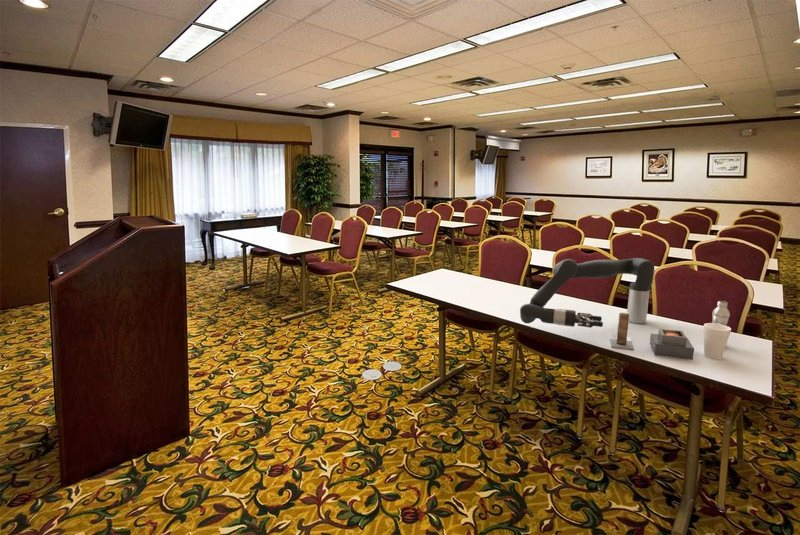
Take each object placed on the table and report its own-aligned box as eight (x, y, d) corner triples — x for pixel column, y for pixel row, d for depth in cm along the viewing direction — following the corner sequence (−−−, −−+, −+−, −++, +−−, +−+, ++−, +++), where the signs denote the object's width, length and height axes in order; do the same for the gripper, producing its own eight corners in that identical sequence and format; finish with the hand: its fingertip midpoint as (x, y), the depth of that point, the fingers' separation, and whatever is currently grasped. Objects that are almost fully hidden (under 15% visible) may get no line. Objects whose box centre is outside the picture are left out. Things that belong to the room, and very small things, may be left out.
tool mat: (610, 339, 208) (610, 338, 207) (631, 342, 204) (631, 341, 204) (611, 347, 198) (611, 346, 198) (634, 350, 195) (634, 348, 195)
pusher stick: (616, 341, 204) (619, 312, 201) (625, 342, 202) (628, 313, 200) (616, 344, 200) (619, 314, 197) (626, 345, 199) (629, 315, 196)
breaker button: (664, 337, 196) (664, 331, 195) (677, 338, 194) (677, 333, 193) (666, 341, 191) (666, 335, 191) (679, 342, 189) (680, 337, 189)
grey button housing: (649, 343, 203) (651, 326, 201) (685, 347, 198) (687, 329, 196) (654, 355, 190) (656, 336, 188) (692, 359, 185) (695, 340, 183)
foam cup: (701, 349, 195) (705, 321, 193) (727, 355, 190) (731, 326, 187) (698, 356, 188) (702, 327, 185) (725, 362, 182) (730, 332, 180)
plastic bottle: (721, 342, 204) (727, 300, 200) (727, 347, 198) (734, 304, 194) (705, 341, 206) (711, 299, 202) (711, 346, 199) (717, 303, 195)
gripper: (564, 314, 200) (604, 318, 195) (565, 305, 213) (601, 309, 208) (563, 329, 202) (602, 334, 196) (563, 320, 215) (600, 324, 209)
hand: (602, 321), depth 202 cm, fingers open, 8 cm apart
